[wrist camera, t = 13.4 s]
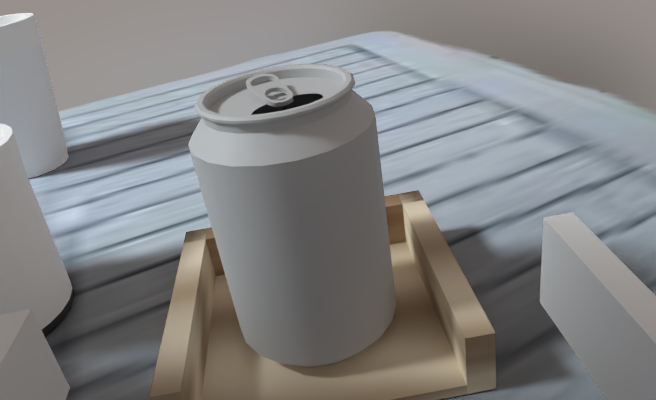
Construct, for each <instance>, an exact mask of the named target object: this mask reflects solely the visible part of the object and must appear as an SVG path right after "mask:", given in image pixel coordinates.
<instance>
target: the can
mask: <svg viewBox="0 0 656 400" xmlns="http://www.w3.org/2000/svg"><path fill="white" fill-rule="evenodd" d="M354 85H355V81H354V77H353V74H351V73H350V72H348V71H346V70H345V69H343V68H341V67H336V66H331V65H326V64H299V65H286V66H280V67H274V68H267V69H263V70H259V71H255V72H251V73H246V74H243V75H240V76H237V77H234V78H232V79H229V80H226V81H224V82H222V83H220V84H218V85H216V86H214V87H212V88H210V89H209V90H207V91H206V92H205V93H203V94H202V95H201V96H200V97H199V98H198V100H197V103H196V105H195V110H196V111H197V113H198V115H199V116H200V117H202V118H201V120H200V122H199V123H198V125H197V127H196V129H195V130H194V132H193V134H192V136H191V139H190V141H189V144H188V146H189V150H190V153H191V157H192V160H193V164H194V167H195V171H196V174H197V178H198V181H199V185H200V188H201V192H202V195H203V199H204V202H205V206H206V209H207V213H208V216H209V220H210V223H211V227H212V230H213V234H214V237H215V241H216V244H217V248H218V251H219V255H220V258H221V262H222V265H223V269H224V272H225V276H226V279H227V283H228V286H229V290H230V293H231V297H232V300H233V304H234V307H235V311H236V314H237V318H238V321H239V325H240V328H241V330H242V333H243V336H244V338H245V341H246V343H247V344H248V345H249V346H250V347H251V348H253V349H254V350H255V351H256V352H257V353H258V354H259V355H260V356H263V357H265V358H268V359H271V360H273V361H276V362H278V363H281V364H290V365H295V366H305V367H317V366H324V365H331V364H335V363H338V362H340V361H343V360H345V359H348V358H350V357H353V356H354V355H356V354H357V353H359V352H361V351H362V350H363V349H365V348H366V347H368V346H369V345H370V344H372V343H373V342H375V341H376V340H377V339H379V338H380V337H381V336H382V334H383V333H384V331H385V330H386V329H387V327H388V326H389V325H390V323H391V322H392V320H393V316H394V312H395V308H396V296H395V287H394V278H393V269H392V261H391V252H390V243H389V234H388V225H387V216H386V207H385V198H384V189H383V180H382V171H381V163H380V154H379V145H378V136H377V127H376V118H375V113H374V111H373V108H372V105H371V104H369V103H368V102H367V101H366V100H364V99H363V98H362V97H361V96H359V95H358V94H357V93H356V92H354V91H353V90H352V88H353V86H354Z"/></svg>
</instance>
